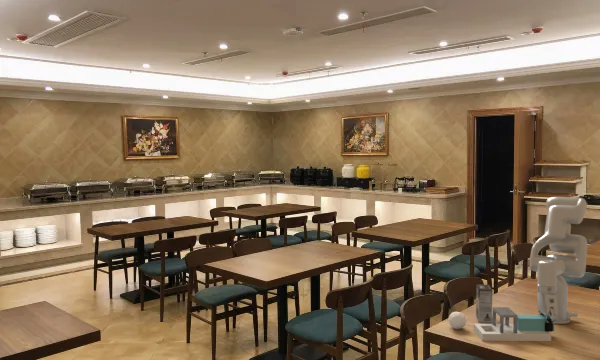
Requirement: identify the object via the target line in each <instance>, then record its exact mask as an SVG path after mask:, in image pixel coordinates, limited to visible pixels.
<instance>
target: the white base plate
mask: <svg viewBox="0 0 600 360" xmlns="http://www.w3.org/2000/svg"><path fill="white" fill-rule="evenodd" d="M473 331H474V332H475V334H476V335H477V336H478V337H479V339H480V340H482V341H484V342H485V341H487V342H488V341H490V342H492V341H493V342H494V341H495V342H496V341H497V342H500V341H501V342H502V341H503V342H505V341H506V342H508V341H509V342H510V341H511V342H551V341H552V334H551V332H546V331H519V330H518V329H517V333H513V323H509V325H505V323H504V331H503V333H500V323H496V325H492V323H473Z"/></svg>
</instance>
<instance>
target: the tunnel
mask: <svg viewBox="0 0 600 360" xmlns="http://www.w3.org/2000/svg"><path fill="white" fill-rule="evenodd" d="M517 315H518V314H516V312H514V310H512V309H511V308H510V307H508V306H505V307H503V306H499V307H498V306H492V323H491V324H492V325H496V324H497V316H498V317H499V324H500V333H503V331H504V324H505V325H509V324H510V318H513V320H512V321H513V322H512V324H513V333H517ZM504 319H505V321H504Z"/></svg>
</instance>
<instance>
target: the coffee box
mask: <svg viewBox="0 0 600 360" xmlns="http://www.w3.org/2000/svg"><path fill="white" fill-rule="evenodd" d="M475 286H476V287H475V294H476V295H475V316H476V320H477V322H478V323H486V324H492V313H493V289H492V287H491V285H490V284H476V285H475Z"/></svg>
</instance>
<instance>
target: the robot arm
mask: <svg viewBox="0 0 600 360" xmlns="http://www.w3.org/2000/svg"><path fill="white" fill-rule="evenodd" d="M587 204H588V203H587V201H586V199H585V198H583V197H576V196H575V197H572V196H551V197H548V198H547V200H546V201H545V208H546V210H547V211H546V219H545V226H544V233H543V235H542V236H540V237H539V238H538V239H537V240H536V241H535V242H534V243H533V245H532V247H531V250H530V256H529V268H530V270H531V271H532V272H536V273H537V277H536V278H537V284H536V285H537V286H536V287H537V288H536V291H537V299H536V308H537V310H538V315H545V317H546V322H545V331H546V332H549V333H552V332H554V331H553V323H554V324H556V325H566V324H567V325H568V324H569V323H571V317H573V318H576V317H577V318H578V317H579V316H578V315H579V314H578V312H572V311H568V289H569V288H568V287H569V286H568V282H567V281H566V279H565V278H564V277H570V278H584V276H585V274H586V269H587V256H588V241H587V238H586V237H585V236H583V235H582V234H572V233H571V229H572V224H573V225H579V224H581V223H582V222H583V220H584V217H585V215H586V212H587V209H588V207H587V206H588V205H587ZM547 246H549V249H550V250H551V252H553V253H556V254H553V253H552V254H548V255H546V256H545V255H539V252H540V251H541V249H543V248H545V247H547ZM557 253H559V254H557ZM563 254H566V255H563ZM571 255H574V256H571ZM548 317H550V318H549V319H548Z"/></svg>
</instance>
